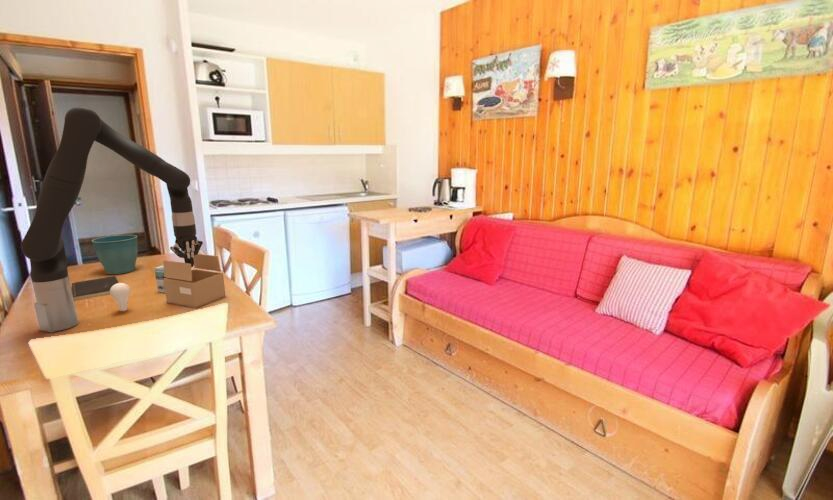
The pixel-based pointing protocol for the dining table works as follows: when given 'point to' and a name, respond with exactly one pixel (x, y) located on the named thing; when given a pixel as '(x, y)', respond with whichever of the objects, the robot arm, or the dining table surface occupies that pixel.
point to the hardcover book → (93, 287)
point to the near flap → (177, 270)
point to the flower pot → (117, 253)
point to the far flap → (206, 262)
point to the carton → (195, 289)
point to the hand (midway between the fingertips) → (190, 267)
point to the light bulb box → (160, 278)
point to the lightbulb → (120, 295)
